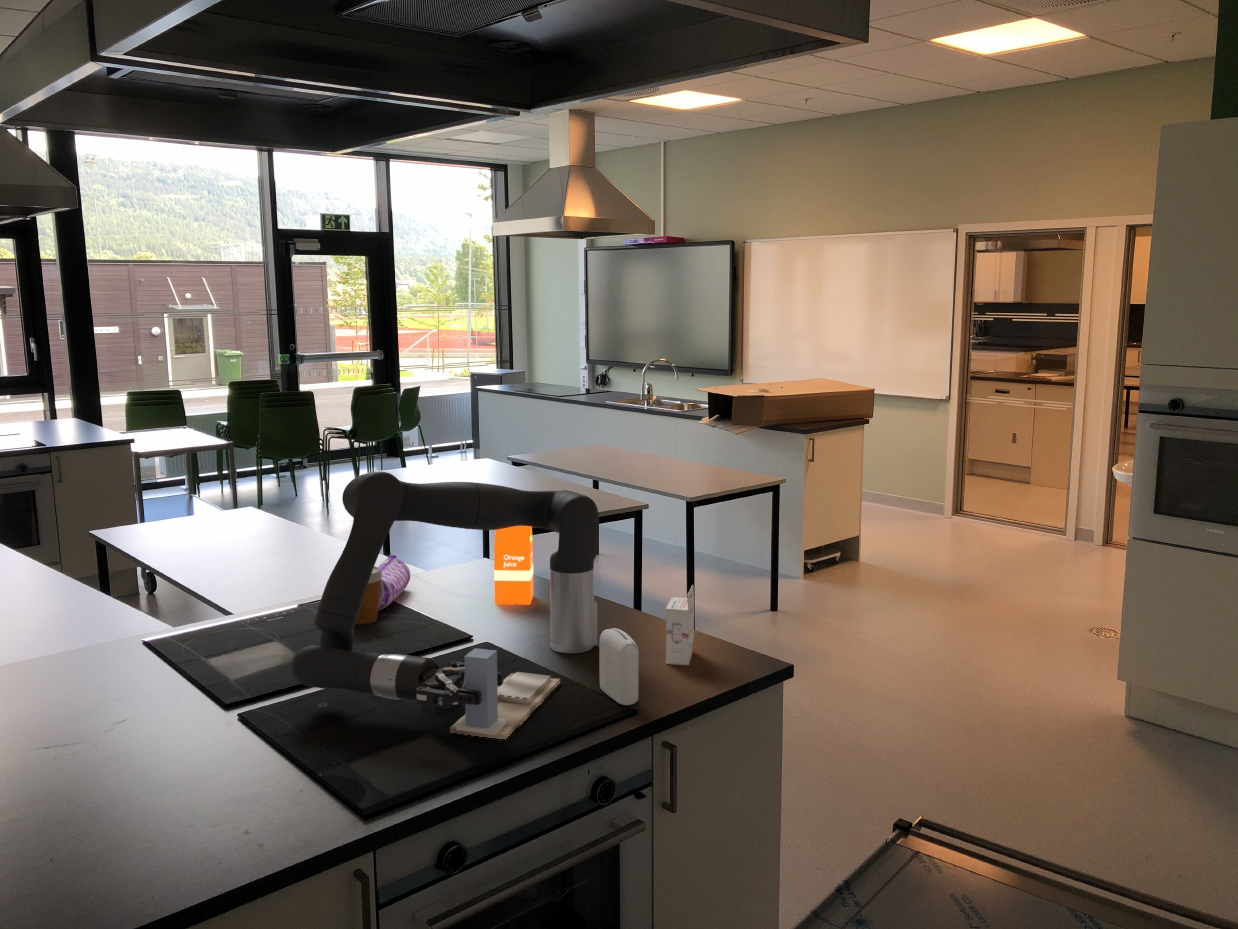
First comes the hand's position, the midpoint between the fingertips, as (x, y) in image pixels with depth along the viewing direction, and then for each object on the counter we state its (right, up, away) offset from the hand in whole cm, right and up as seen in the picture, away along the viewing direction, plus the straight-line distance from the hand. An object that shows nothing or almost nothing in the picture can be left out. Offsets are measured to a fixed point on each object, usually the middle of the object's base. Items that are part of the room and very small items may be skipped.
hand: (491, 688), depth 154 cm
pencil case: (-37, +3, +77) cm, 86 cm away
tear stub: (-2, -7, +2) cm, 7 cm away
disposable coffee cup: (-38, +1, +61) cm, 72 cm away
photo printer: (+21, -6, +18) cm, 28 cm away
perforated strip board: (+1, -6, +12) cm, 14 cm away
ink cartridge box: (+33, -3, +38) cm, 51 cm away
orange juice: (-5, +3, +78) cm, 78 cm away
